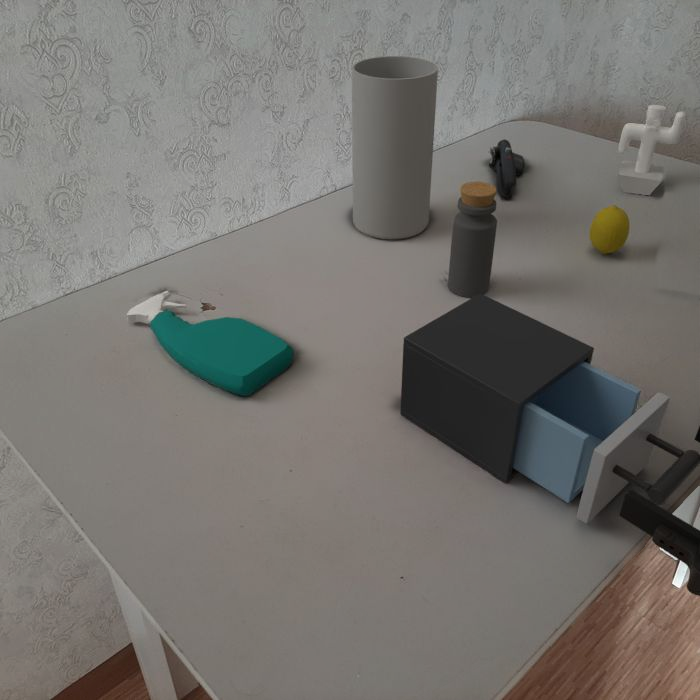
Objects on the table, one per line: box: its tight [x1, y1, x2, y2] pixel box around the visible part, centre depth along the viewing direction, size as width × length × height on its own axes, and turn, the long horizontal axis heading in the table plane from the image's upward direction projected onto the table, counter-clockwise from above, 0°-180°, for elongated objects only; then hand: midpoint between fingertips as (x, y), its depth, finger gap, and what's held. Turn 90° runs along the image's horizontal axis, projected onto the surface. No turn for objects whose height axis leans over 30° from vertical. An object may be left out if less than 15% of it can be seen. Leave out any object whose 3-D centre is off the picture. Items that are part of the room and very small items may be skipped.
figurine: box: [617, 104, 687, 196], centre depth 125 cm, size 7×9×15 cm
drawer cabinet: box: [399, 294, 595, 485], centre depth 76 cm, size 15×13×11 cm
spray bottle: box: [126, 290, 295, 397], centre depth 91 cm, size 3×11×24 cm
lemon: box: [589, 204, 630, 255], centre depth 107 cm, size 6×6×8 cm
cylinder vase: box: [351, 55, 439, 240], centre depth 111 cm, size 12×12×25 cm
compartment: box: [513, 361, 700, 525], centre depth 69 cm, size 18×11×9 cm, turn 43°
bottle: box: [447, 181, 498, 298], centre depth 98 cm, size 6×6×15 cm
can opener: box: [488, 139, 526, 200], centre depth 131 cm, size 18×7×6 cm, turn 170°
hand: (663, 462), depth 64 cm, fingers open, 13 cm apart
